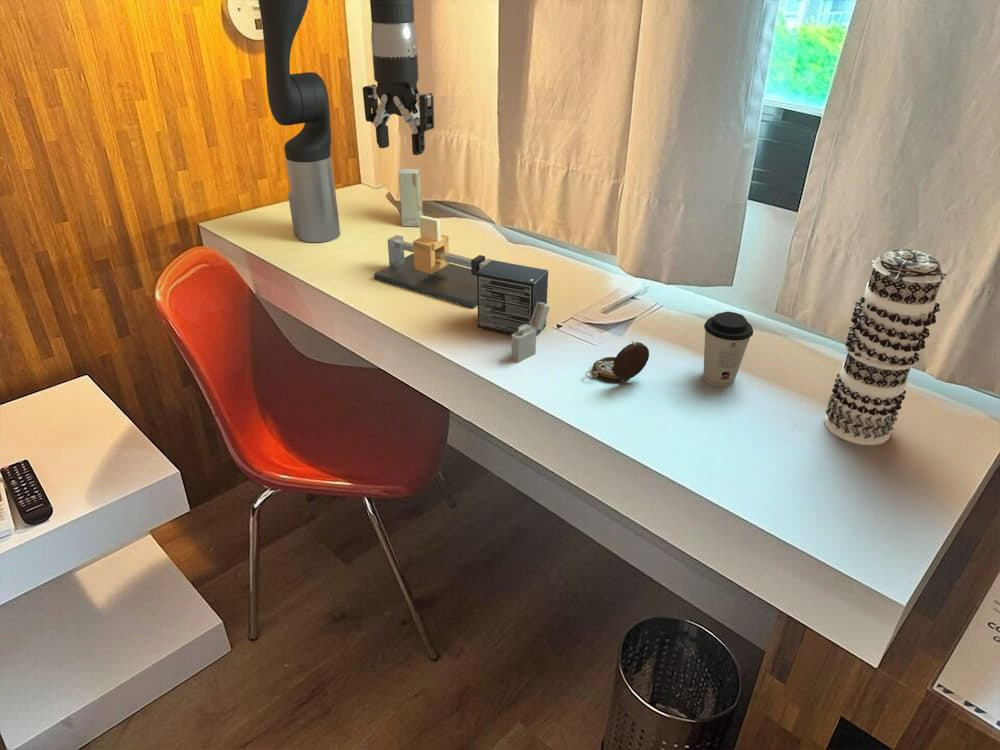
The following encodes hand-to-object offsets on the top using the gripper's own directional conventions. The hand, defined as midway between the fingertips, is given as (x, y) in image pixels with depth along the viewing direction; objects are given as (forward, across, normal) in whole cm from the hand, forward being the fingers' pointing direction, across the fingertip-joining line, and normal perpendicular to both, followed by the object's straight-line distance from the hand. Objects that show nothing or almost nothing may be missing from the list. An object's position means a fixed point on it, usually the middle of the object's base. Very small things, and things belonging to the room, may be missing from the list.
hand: (400, 150), depth 130 cm
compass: (+24, +50, -14) cm, 57 cm away
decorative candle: (+23, +84, -8) cm, 88 cm away
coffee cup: (+23, +64, -6) cm, 68 cm away
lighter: (+24, +36, -14) cm, 46 cm away
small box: (+24, +29, -8) cm, 39 cm away
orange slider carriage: (+21, +6, 0) cm, 22 cm away
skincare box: (+24, -17, +23) cm, 37 cm away
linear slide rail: (+24, +8, 0) cm, 25 cm away
